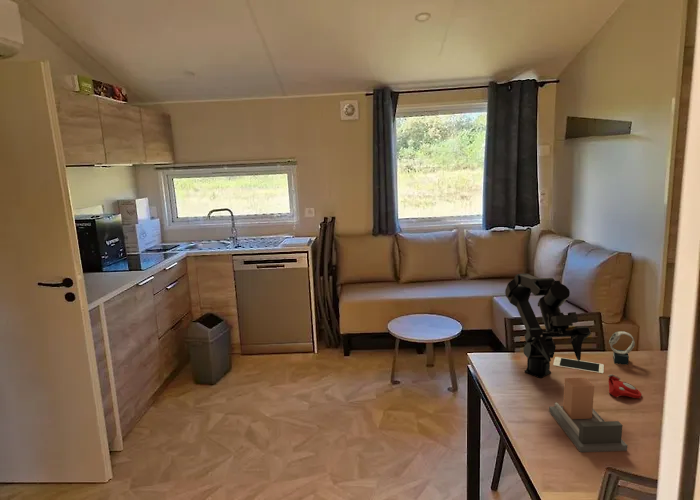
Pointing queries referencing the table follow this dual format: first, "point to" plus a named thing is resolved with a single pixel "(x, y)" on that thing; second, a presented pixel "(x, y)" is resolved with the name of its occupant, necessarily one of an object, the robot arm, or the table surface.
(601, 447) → the guide track
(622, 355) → the watch
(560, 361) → the cell phone
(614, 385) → the red tape dispenser
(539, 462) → the table surface
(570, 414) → the brown block
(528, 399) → the table surface
